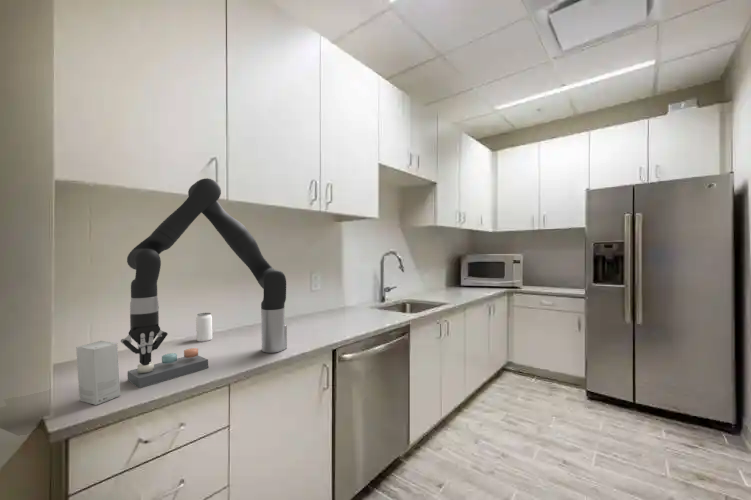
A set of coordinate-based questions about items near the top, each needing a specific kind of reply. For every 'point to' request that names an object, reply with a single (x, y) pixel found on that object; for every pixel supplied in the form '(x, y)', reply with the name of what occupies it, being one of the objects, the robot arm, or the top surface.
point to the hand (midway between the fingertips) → (145, 364)
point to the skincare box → (98, 372)
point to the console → (167, 371)
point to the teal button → (169, 358)
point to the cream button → (145, 368)
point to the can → (204, 327)
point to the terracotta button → (190, 352)
